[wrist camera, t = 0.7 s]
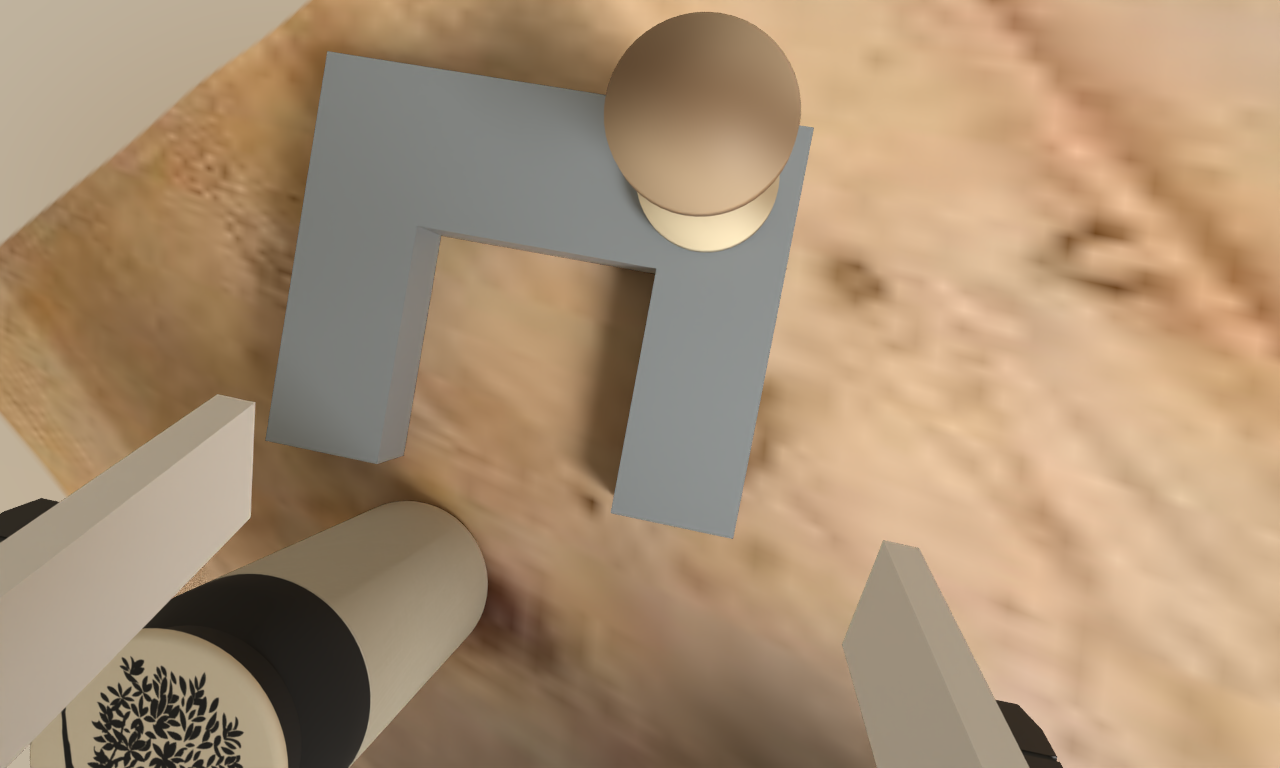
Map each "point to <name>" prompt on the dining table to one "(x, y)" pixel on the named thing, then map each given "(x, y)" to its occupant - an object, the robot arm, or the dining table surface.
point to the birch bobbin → (703, 127)
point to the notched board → (526, 220)
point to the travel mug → (284, 653)
